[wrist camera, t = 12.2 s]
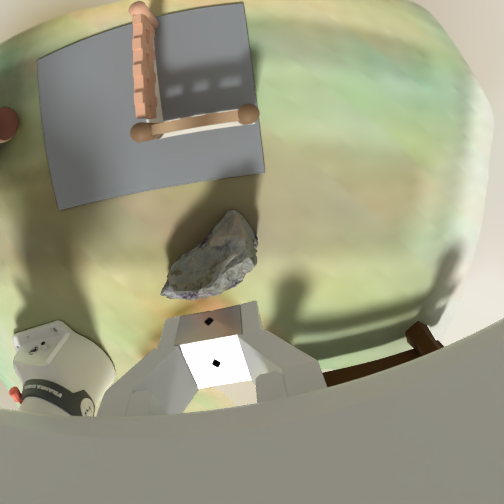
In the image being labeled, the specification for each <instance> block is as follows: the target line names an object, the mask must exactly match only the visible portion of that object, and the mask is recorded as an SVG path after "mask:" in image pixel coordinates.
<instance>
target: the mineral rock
mask: <svg viewBox="0 0 504 504" xmlns="http://www.w3.org/2000/svg"><path fill="white" fill-rule="evenodd" d="M257 240H258V238H257V236H256V235H255V233H254V232H253V230H252V229H251V227H250V225H249V223H248V222H247V221H246V219H245V218H244V217H243V216H242V215H241V214H240V213H239V212H238V211H236V210H229V211H227V212H226V214H225V215H224V217H223V218H222V220H221V221H220V222H219V223H218V224H217V225H216V226H215V227H214V229H212V231H211V232H210V233H209V235H208V237H206V238H205V239H204V240H203V241H202V242H200V243H199V244H197V246H196V247H195V248H194V249H192V250H191V251H189V252H188V253H185V254H182V255H181V256H180V257H179V259H177V260H176V262H175V263H173V264H172V266H171V268H170V271H169V273H168V275H167V282H166V284H165V285H164V288H163V289H162V291H161V294H160V295H161V296H167V298H169V299H172V298H173V299H175V298H179V299H188V300H197V299H199V298H202V299H205V298H208V297H209V296H214V295H218V294H221V293H222V292H223V291H225V290H228V289H230V288H233V287H235V286H237V284H239V283H240V282H242V281H243V278H244V276H245V274H246V273H248V272H250V271H251V270H252V269H253V268H254V267H255V266H256V264H257V256H256V252H257V250H256V248H257V245H258V242H257Z"/></svg>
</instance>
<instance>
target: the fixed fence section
mask: <svg viewBox="0 0 504 504" xmlns="http://www.w3.org/2000/svg"><path fill="white" fill-rule="evenodd" d="M258 118H259V110H258V108H257V107H256V106H255V105H253V104H244V105H242V106H241V107H240V108H239V110H236V111H228V112H221V113H214V114H207V115H201V116H195V117H189V118H184V119H178V120H173V121H168V122H163V123H147V122H139V123H136V124H134V125H133V126H132V128H131V131H130V136H131V138H132V139H133V140H134V141H135V142H145V141H150V140H156V139H160V138H161V137H162V136H163V135H164V133H169V132H174V131H179V130H185V129H190V128H196V127H202V126H209V125H215V124H222V123H229V122H237V121H238V122H239V123H240V124H243V125H248V124H252V123H254V122H256V121H257V120H258Z"/></svg>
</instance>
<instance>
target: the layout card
mask: <svg viewBox="0 0 504 504" xmlns="http://www.w3.org/2000/svg"><path fill="white" fill-rule="evenodd" d="M155 18H156V20H157V21H158V27H157V28H156V29H155V38H153V49H154V50H155V60H154V73H156V83H155V97H157V107H156V116H157V118H154V119H144V118H141V119H136V113H135V105H134V77H133V50H132V39H133V24H129V25H125V26H122V27H119V28H116V29H113V30H110V31H107V32H104V33H101V34H98V35H95V36H93V37H90V38H87V39H85V40H82V41H80V42H77V43H75V44H72V45H70V46H68V47H65V48H63V49H61V50H58V51H56V52H54V53H52V54H50V55H48V56H46V57H44V58H41V59H39V60H37V67H38V87H39V99H40V110H41V119H42V127H43V134H44V141H45V147H46V153H47V159H48V164H49V169H50V174H51V179H52V184H53V188H54V193H55V197H56V201H57V205H58V209H59V210H63V209H67V208H71V207H75V206H79V205H83V204H88V203H92V202H96V201H101V200H105V199H110V198H114V197H119V196H124V195H129V194H134V193H139V192H144V191H149V190H155V189H160V188H165V187H171V186H177V185H183V184H189V183H195V182H201V181H208V180H214V179H221V178H228V177H236V176H243V175H251V174H259V173H265V170H264V161H263V152H262V144H261V135H260V127H259V118H258V120H257V121H256V122H254V123H252V124H248V125H243V124H240V123H239V122H238V121H237V122H229V123H222V124H215V125H209V126H202V127H196V128H190V129H185V130H179V131H174V132H169V133H164V135H163V136H162V137H161V138H160V139H156V140H150V141H145V142H135V141H134V140H133V139H132V138H131V136H130V131H131V128H132V126H133V125H134V124H136V123H139V122H147V123H163V122H168V121H173V120H178V119H184V118H189V117H195V116H201V115H207V114H214V113H221V112H228V111H236V110H239V108H240V107H241V106H242V105H244V104H253V105H255V106H256V107H257V102H256V94H255V86H254V79H253V71H252V63H251V56H250V48H249V41H248V34H247V27H246V20H245V13H244V6H243V3H241V4H230V5H221V6H214V7H206V8H200V9H194V10H188V11H183V12H178V13H173V14H168V15H163V16H159V17H155Z"/></svg>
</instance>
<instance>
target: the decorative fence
mask: <svg viewBox="0 0 504 504" xmlns="http://www.w3.org/2000/svg"><path fill="white" fill-rule="evenodd" d="M406 337H407V342H408V343H409V344H410V345H411V346H412V347H413V348H414V349H411V350H408V351H405V352H402V353H399V354H396V355H392V356H389V357H386V358H383V359H379V360H375V361H371V362H367V363H363V364H359V365H355V366H351V367H347V368H342V369H338V370H333V371H329V372H324V373H322V374H323V377H324V380H325V382H326V385H327V388H328V387H331V386H335V385H339V384H342V383H346V382H349V381H352V380H356V379H359V378H362V377H365V376H369V375H372V374H375V373H378V372H381V371H384V370H386V369H389V368H392V367H395V366H398V365H401V364H403V363H406V362H409V361H411V360H414V359H416V358H419V357H422V356H424V355H427V354H429V353H431V352H434V351H436V350H439V349H441V348H443V347H444V346H443V345H442V344H441V343H440V342H439V341H438V340H437V341H436V340H435V339H434V337H433V335H432V334H431V332H430V330H429V329H428V327H427V325H425V324H423V323H421V322H419V321H417V322H416V323H415V324H414V325H413V326H412V327H410V328H409V329H408V330H407V331H406Z"/></svg>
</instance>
